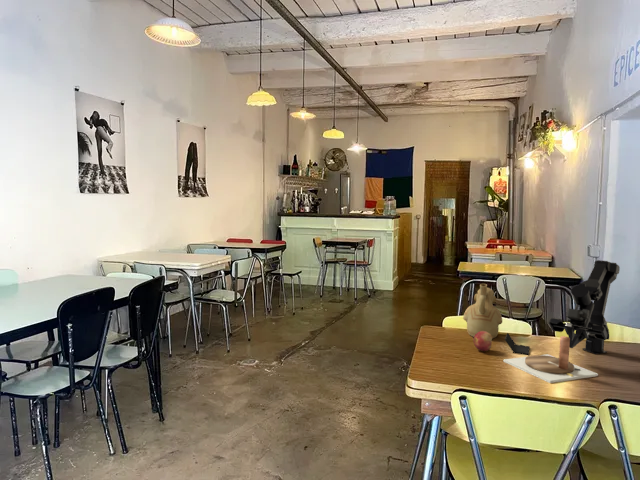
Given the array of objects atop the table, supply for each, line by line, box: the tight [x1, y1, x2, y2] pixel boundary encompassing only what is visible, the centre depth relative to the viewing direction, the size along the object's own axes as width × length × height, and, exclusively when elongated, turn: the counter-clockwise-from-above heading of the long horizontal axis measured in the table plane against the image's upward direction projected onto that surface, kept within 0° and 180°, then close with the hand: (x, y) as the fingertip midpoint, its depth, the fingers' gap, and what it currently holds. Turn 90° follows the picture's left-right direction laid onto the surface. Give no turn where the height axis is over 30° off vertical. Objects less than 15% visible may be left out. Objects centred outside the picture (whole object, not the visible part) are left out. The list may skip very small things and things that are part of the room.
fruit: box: [472, 331, 493, 352], centre depth 187 cm, size 8×8×8 cm
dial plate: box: [502, 353, 599, 384], centre depth 168 cm, size 22×22×1 cm
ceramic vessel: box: [462, 283, 503, 339], centre depth 209 cm, size 17×20×25 cm
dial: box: [525, 335, 575, 374], centre depth 167 cm, size 16×16×12 cm
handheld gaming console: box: [504, 332, 531, 356], centre depth 189 cm, size 12×7×10 cm
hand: (570, 347), depth 167 cm, fingers closed
